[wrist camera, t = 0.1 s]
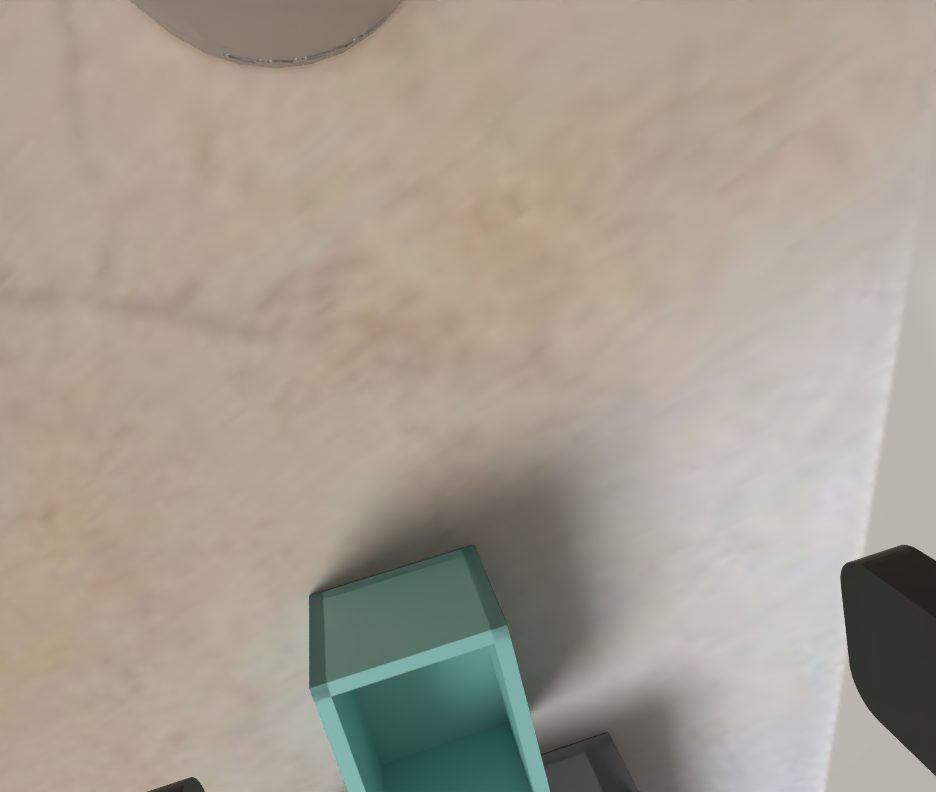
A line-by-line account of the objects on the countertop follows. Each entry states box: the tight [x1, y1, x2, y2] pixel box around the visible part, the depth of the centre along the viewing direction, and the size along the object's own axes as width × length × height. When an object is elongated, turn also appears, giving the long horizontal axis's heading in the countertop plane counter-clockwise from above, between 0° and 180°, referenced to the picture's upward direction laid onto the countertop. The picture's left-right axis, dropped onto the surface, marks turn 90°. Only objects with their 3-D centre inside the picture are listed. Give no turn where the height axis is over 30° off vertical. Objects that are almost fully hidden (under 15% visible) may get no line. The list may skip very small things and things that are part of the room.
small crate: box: [309, 545, 550, 792], centre depth 27 cm, size 8×6×5 cm
